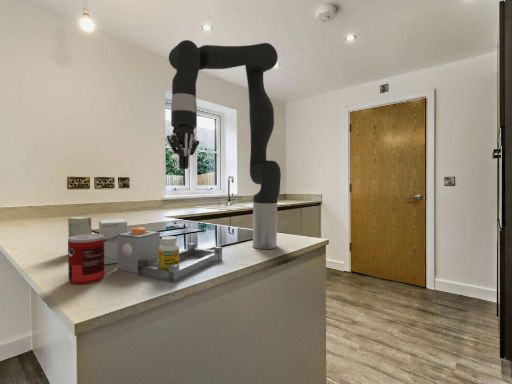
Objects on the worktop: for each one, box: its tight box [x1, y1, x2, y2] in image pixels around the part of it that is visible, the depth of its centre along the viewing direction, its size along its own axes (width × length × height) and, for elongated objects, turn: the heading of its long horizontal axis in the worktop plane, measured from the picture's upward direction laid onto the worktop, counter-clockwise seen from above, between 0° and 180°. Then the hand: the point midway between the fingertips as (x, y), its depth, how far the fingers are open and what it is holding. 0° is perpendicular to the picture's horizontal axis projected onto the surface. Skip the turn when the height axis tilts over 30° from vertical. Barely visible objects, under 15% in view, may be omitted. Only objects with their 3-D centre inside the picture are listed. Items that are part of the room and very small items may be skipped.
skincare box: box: [67, 216, 93, 238], centre depth 95 cm, size 6×4×12 cm
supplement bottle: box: [159, 235, 180, 269], centre depth 77 cm, size 5×5×10 cm
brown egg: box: [130, 227, 147, 235], centre depth 81 cm, size 4×4×6 cm
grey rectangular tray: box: [137, 242, 223, 283], centre depth 83 cm, size 23×12×4 cm, turn 156°
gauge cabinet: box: [117, 230, 161, 274], centre depth 81 cm, size 8×8×10 cm
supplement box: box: [98, 218, 128, 265], centre depth 87 cm, size 7×7×13 cm
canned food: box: [67, 233, 105, 286], centre depth 71 cm, size 8×8×11 cm
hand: (183, 168), depth 86 cm, fingers closed
